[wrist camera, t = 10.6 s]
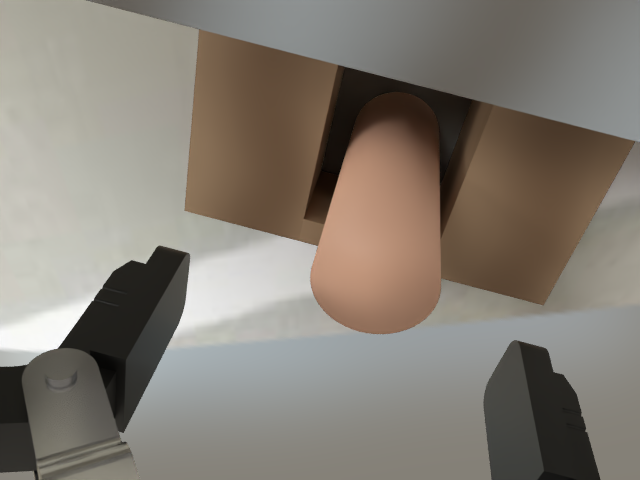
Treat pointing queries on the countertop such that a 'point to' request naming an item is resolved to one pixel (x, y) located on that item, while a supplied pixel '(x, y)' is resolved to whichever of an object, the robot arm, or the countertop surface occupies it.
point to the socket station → (431, 72)
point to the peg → (384, 221)
